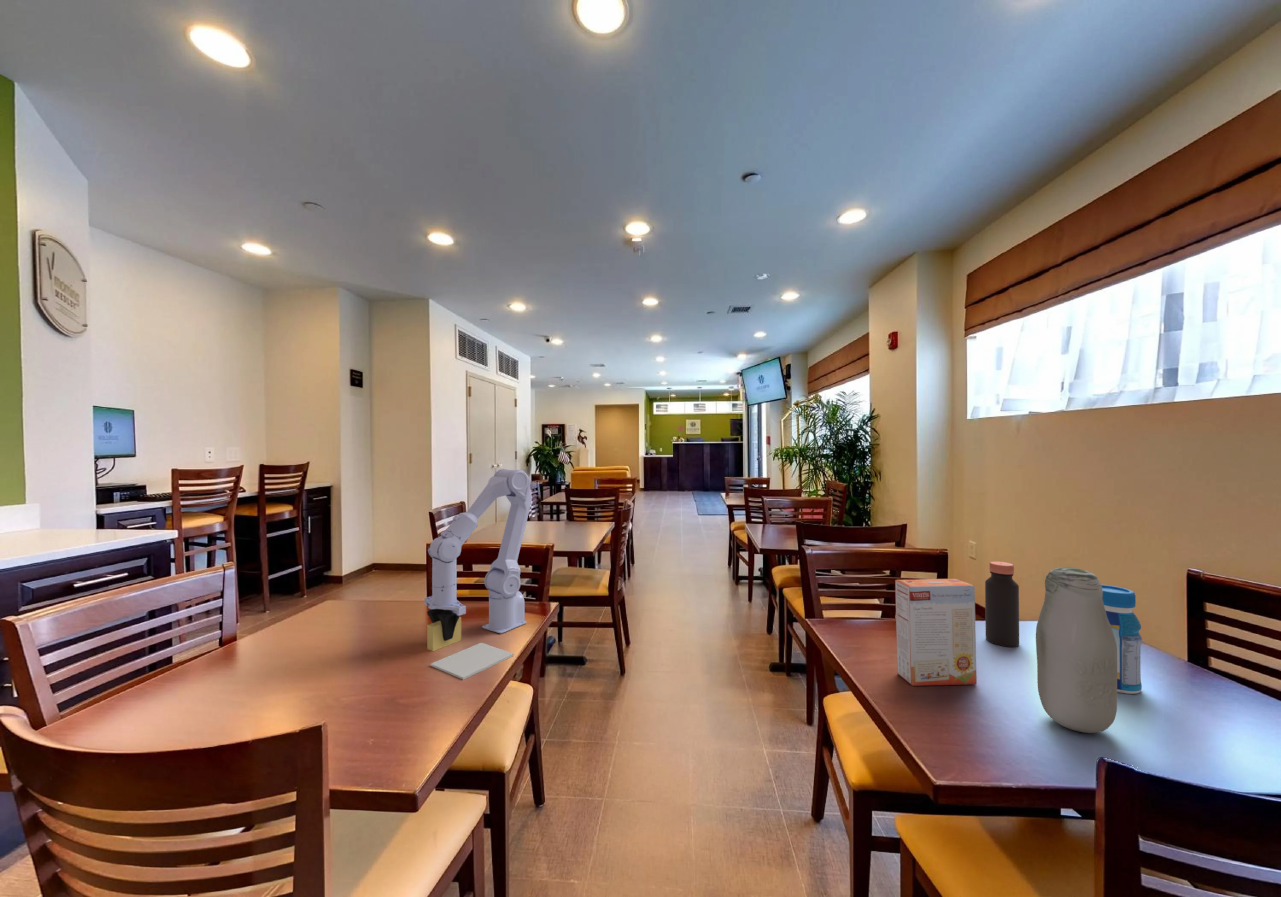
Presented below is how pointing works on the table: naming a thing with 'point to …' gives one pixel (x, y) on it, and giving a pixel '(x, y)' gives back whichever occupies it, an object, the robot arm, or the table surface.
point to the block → (441, 635)
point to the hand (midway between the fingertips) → (444, 638)
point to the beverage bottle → (1124, 636)
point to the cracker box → (936, 631)
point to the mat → (471, 660)
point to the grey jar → (1076, 652)
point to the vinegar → (1002, 605)
